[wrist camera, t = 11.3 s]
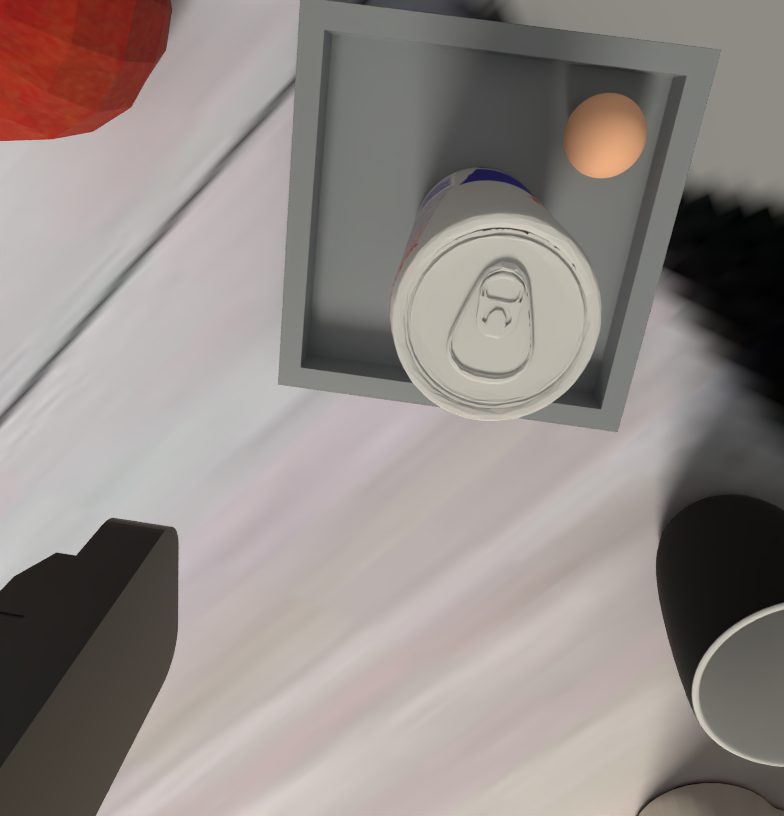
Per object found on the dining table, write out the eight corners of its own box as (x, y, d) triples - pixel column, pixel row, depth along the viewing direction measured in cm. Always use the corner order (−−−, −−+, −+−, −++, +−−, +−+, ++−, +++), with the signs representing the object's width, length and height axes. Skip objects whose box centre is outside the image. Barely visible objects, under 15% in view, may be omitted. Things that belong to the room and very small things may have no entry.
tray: (700, 54, 29) (721, 49, 27) (607, 410, 35) (617, 432, 33) (312, 5, 29) (300, -3, 27) (289, 366, 36) (278, 384, 34)
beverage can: (447, 313, 33) (443, 456, 20) (393, 203, 32) (346, 276, 18) (560, 260, 32) (640, 374, 18) (509, 142, 30) (556, 169, 17)
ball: (644, 98, 29) (666, 97, 26) (625, 179, 31) (644, 187, 28) (567, 88, 29) (579, 86, 26) (551, 169, 31) (561, 176, 28)
